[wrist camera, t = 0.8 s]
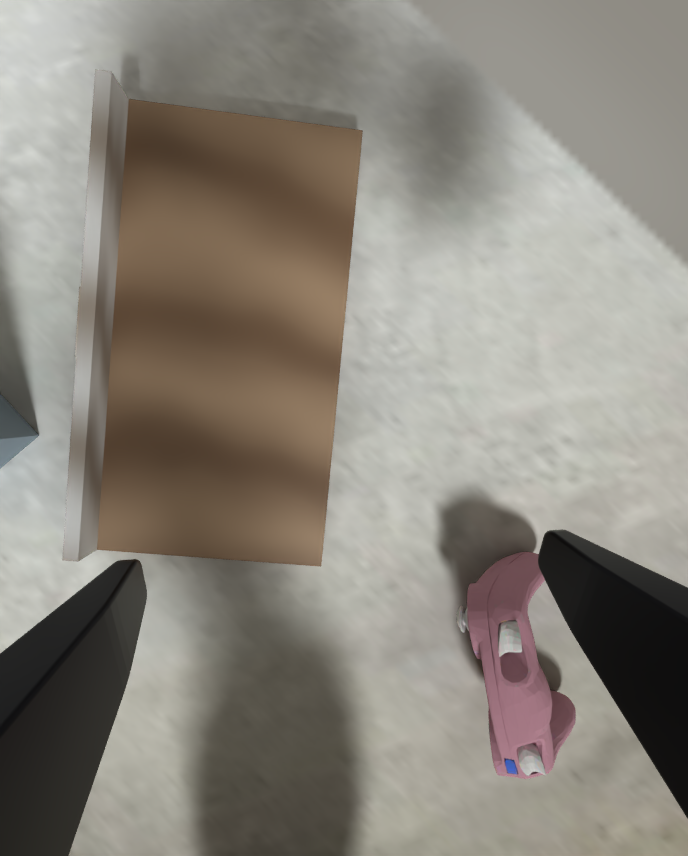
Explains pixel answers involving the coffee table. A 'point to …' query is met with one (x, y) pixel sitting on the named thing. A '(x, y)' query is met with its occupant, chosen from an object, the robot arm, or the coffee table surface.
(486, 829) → the coffee table surface
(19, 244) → the coffee table surface
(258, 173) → the board
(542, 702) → the pink elongated piece
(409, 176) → the coffee table surface
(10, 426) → the tea tin
